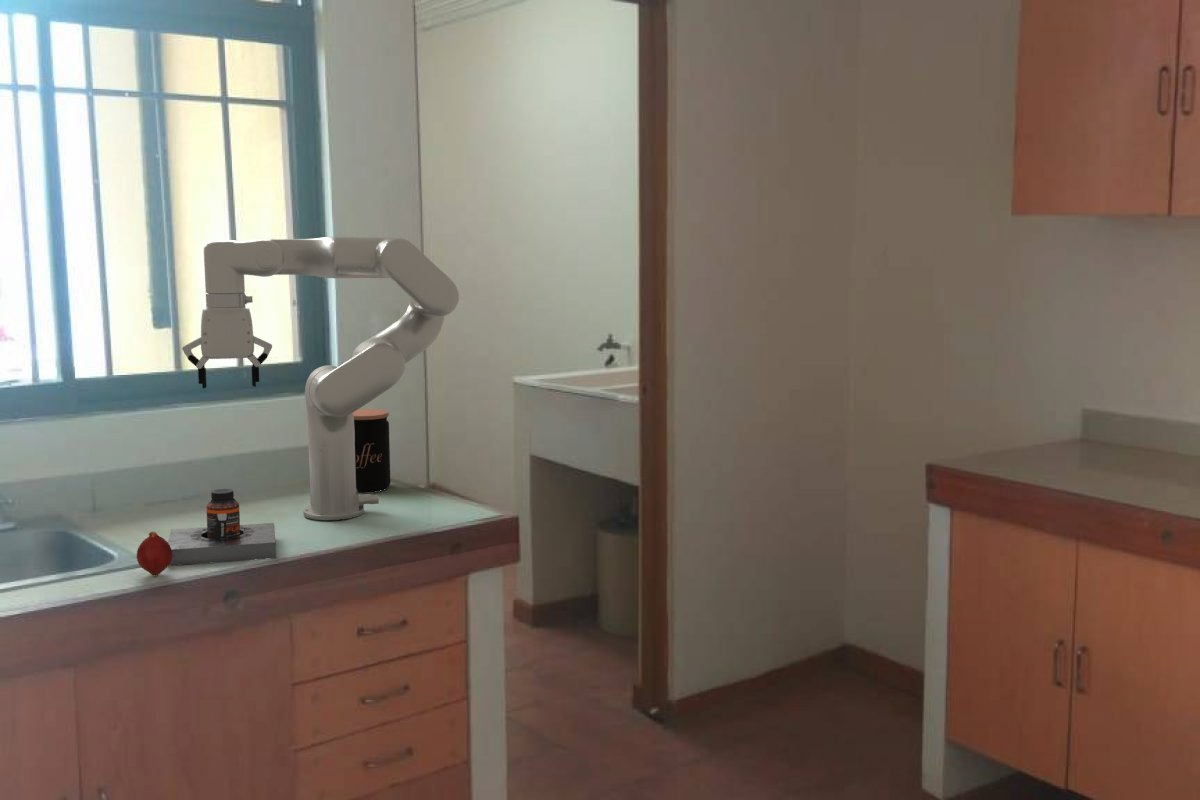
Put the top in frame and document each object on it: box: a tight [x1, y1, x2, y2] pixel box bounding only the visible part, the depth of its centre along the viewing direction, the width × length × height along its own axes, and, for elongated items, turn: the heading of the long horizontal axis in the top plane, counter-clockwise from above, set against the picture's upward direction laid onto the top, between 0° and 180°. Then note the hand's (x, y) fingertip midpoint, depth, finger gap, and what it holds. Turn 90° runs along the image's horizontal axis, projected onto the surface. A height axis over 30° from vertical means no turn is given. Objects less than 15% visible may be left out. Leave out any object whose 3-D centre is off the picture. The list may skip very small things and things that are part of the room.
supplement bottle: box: [206, 488, 241, 539], centre depth 223 cm, size 6×6×11 cm
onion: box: [136, 530, 172, 577], centre depth 206 cm, size 6×6×8 cm
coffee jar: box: [353, 408, 391, 493], centre depth 274 cm, size 11×11×18 cm
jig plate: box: [167, 522, 277, 567], centre depth 222 cm, size 19×15×3 cm
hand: (229, 386), depth 239 cm, fingers open, 9 cm apart
